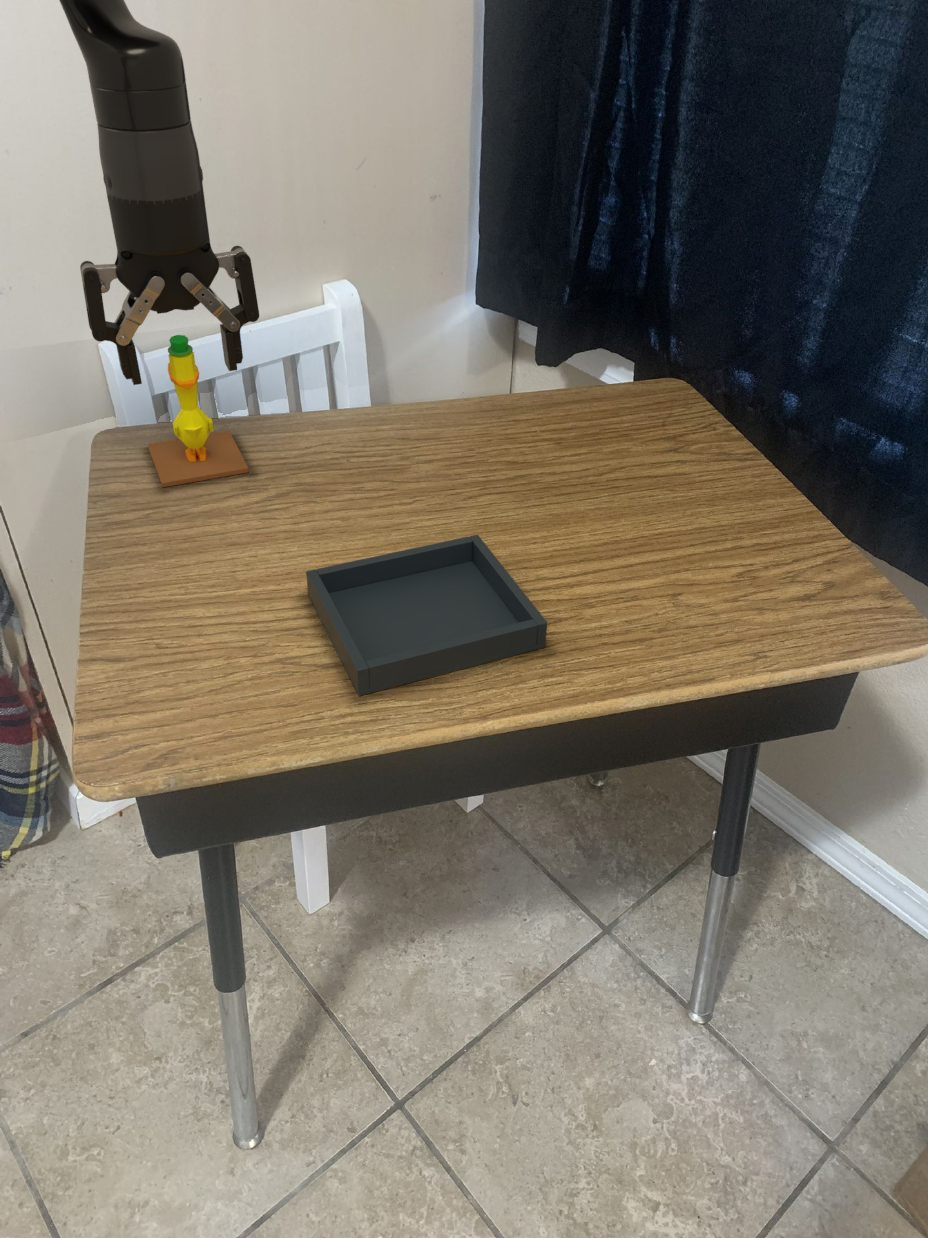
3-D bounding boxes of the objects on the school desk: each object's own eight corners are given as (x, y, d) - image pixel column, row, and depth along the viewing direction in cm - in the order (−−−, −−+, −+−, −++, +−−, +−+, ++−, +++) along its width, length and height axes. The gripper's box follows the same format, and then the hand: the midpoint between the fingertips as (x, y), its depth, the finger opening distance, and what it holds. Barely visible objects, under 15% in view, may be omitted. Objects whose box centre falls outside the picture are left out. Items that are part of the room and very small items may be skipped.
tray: (359, 696, 68) (357, 670, 67) (307, 595, 77) (305, 570, 76) (545, 647, 73) (547, 622, 71) (476, 558, 82) (477, 533, 80)
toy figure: (173, 442, 95) (153, 322, 88) (210, 437, 96) (193, 318, 89) (182, 475, 90) (161, 351, 83) (221, 469, 91) (204, 346, 84)
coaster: (162, 487, 89) (161, 482, 89) (148, 448, 95) (147, 443, 95) (249, 472, 92) (248, 467, 92) (230, 434, 98) (229, 430, 98)
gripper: (232, 165, 83) (252, 348, 93) (55, 178, 79) (96, 369, 89) (253, 188, 78) (272, 379, 88) (65, 203, 73) (108, 403, 83)
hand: (184, 374), depth 88 cm, fingers open, 8 cm apart
